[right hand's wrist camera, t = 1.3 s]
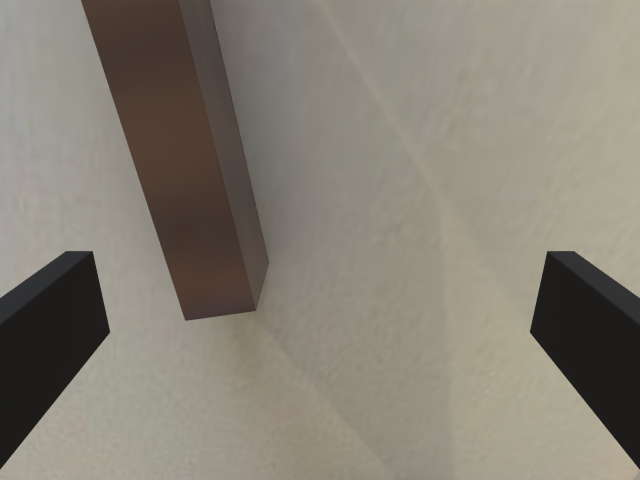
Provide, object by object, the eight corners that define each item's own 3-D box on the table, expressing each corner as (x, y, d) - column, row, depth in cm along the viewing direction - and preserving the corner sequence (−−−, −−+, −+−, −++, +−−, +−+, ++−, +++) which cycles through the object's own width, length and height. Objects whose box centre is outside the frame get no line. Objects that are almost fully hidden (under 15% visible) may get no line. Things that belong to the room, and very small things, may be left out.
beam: (269, 262, 32) (256, 311, 26) (211, 271, 33) (185, 321, 26) (148, -270, 21) (73, -418, 15) (63, -251, 22) (-46, -388, 15)
